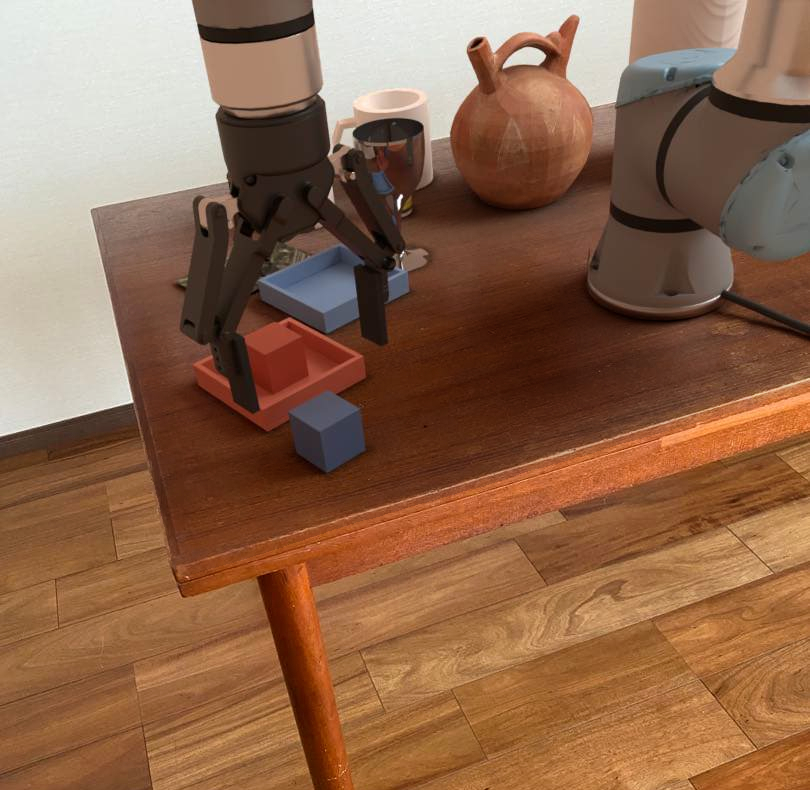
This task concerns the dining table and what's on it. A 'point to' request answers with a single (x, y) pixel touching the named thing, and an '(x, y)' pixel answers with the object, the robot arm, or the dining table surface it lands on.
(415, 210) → the dining table surface
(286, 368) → the red block
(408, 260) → the wine glass
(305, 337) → the red tray
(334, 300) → the blue tray
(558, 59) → the jug
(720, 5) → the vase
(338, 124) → the mug
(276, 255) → the eiffel tower figurine
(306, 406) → the blue block
